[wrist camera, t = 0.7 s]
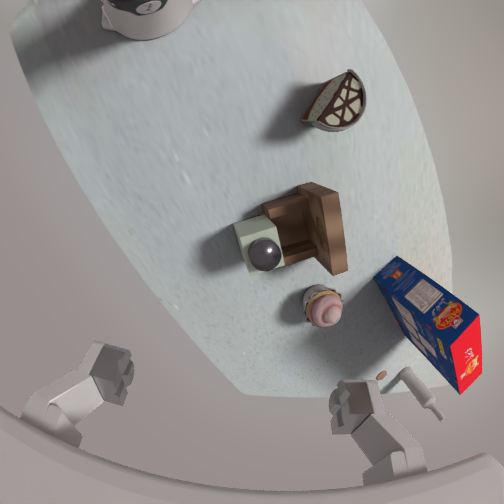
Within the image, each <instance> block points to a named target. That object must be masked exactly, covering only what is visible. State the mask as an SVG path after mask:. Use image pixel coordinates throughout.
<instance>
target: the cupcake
mask: <svg viewBox="0 0 504 504" xmlns="http://www.w3.org/2000/svg"><path fill="white" fill-rule="evenodd" d="M341 297H342V294H341V293H338V292H336V290H335V289H332V288H328V287H326V286H324V285H314V286H312V287H310V288H309V289H308V290H307V291H306V292H305V294H304V296H303V306H304V310H303V314H304V315H305V316H306V322H311V323H312V325H313V326H317V327H321V328H323V327H329V326H332V325H334V324H336V323H337V322H338V321H339V319H340V318H341V313H342V308H343V306H342V305H343V303H344V301H343V300H342V299H341Z"/></svg>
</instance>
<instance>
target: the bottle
mask: <svg viewBox="0 0 504 504" xmlns="http://www.w3.org/2000/svg"><path fill="white" fill-rule="evenodd" d="M399 377H400V379H401V380H403V381H404V382H405V384H406V385H407V386H408V388H409V389H410V390H411V392H412V393H413V394H414V396H415V397H416V398H417V400H418V401H419V403H420V404H421V405H422V407H423V408H429V409H431V410H432V411H433V413H434V414H435V415H436V416H437V418H438V419H439V421H440V422H442V421H444V420H445V416H444V415H443V414H442V413H441V411H440V410H439V409H438V408H437V406H436V405H435V399H436V397H435V396H434V395H433V394H432V392H431V391H430V390H429V389H428V388H427V387H426V386H425V384H424V383H423V382H422V381H421V380H420V379H419V378H418V377H417V375H416V374H415V373H414V372H413V370H412V369H411V368H410V367H405V368H404V369H403V370H401V372H400V373H399Z"/></svg>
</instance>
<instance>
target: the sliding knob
mask: <svg viewBox="0 0 504 504" xmlns="http://www.w3.org/2000/svg"><path fill="white" fill-rule="evenodd" d="M233 225H234V229H235V232H236V236H237V239H238V243H239V246H240V250H241V253H242V257H243V259H244V262H245V264H246V266H247V269H248V271H249V273H250V276H253V275H256V274H259V273H262V272H265V271H270V270H272V269H275V268H278V267H281V266H284V265H285V264H284V259H283V254H282V250H281V245H280V241H279V237H278V232H277V228H276V226H275V225H274V224H273V223H272V222H271V221H270V220H269V218H268V217H267V216H266V215H265V214H264V215H261V216H257V217H254V218H250V219H247V220H244V221H240V222H237V223H234V224H233Z"/></svg>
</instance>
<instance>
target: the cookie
mask: <svg viewBox="0 0 504 504" xmlns="http://www.w3.org/2000/svg"><path fill="white" fill-rule="evenodd" d="M386 374H387V372H386V371H382V372H381V373H380V374H379V375H378V376H377V380H381V379H383V378H384V377H385V376H386Z"/></svg>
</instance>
